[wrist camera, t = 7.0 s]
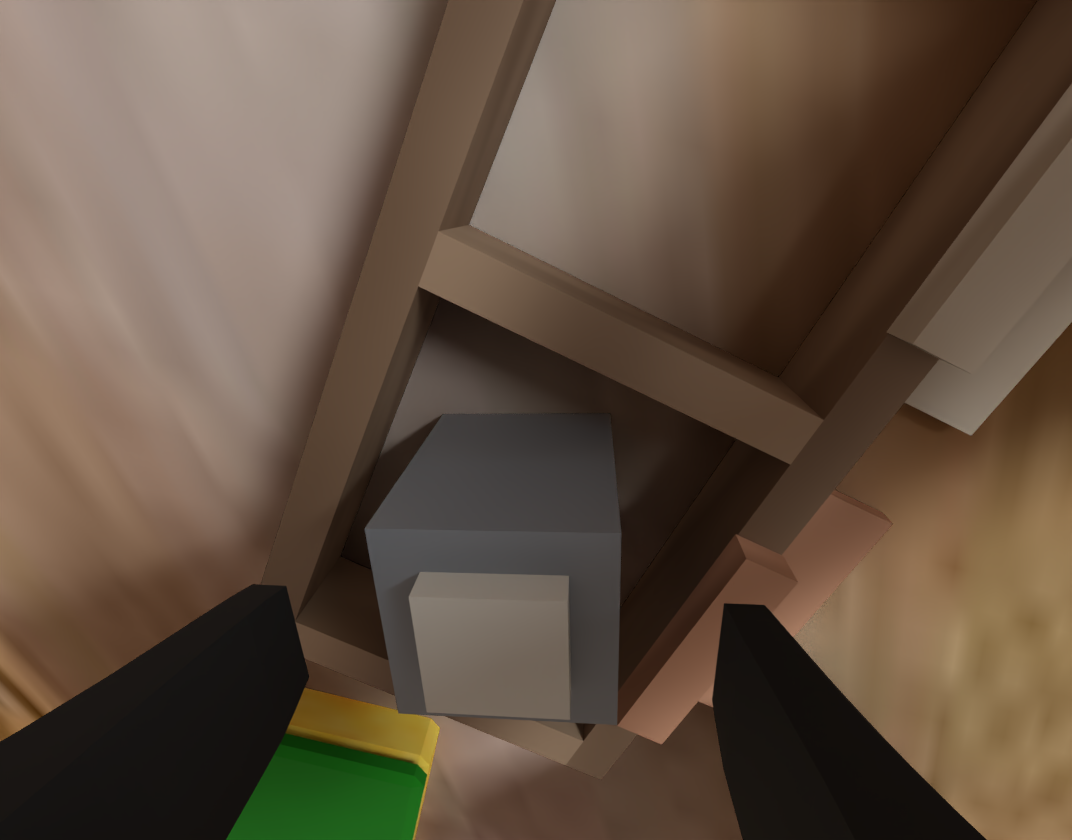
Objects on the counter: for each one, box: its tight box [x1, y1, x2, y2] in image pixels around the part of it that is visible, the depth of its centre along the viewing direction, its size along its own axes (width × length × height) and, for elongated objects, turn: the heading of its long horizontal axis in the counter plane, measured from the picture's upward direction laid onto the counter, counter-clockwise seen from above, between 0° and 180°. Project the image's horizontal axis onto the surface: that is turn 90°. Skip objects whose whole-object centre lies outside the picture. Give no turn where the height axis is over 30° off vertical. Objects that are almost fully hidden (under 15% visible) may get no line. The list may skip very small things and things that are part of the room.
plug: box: [365, 413, 621, 725], centre depth 11 cm, size 4×4×6 cm
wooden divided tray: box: [261, 0, 1072, 780], centre depth 11 cm, size 13×20×3 cm, turn 155°
